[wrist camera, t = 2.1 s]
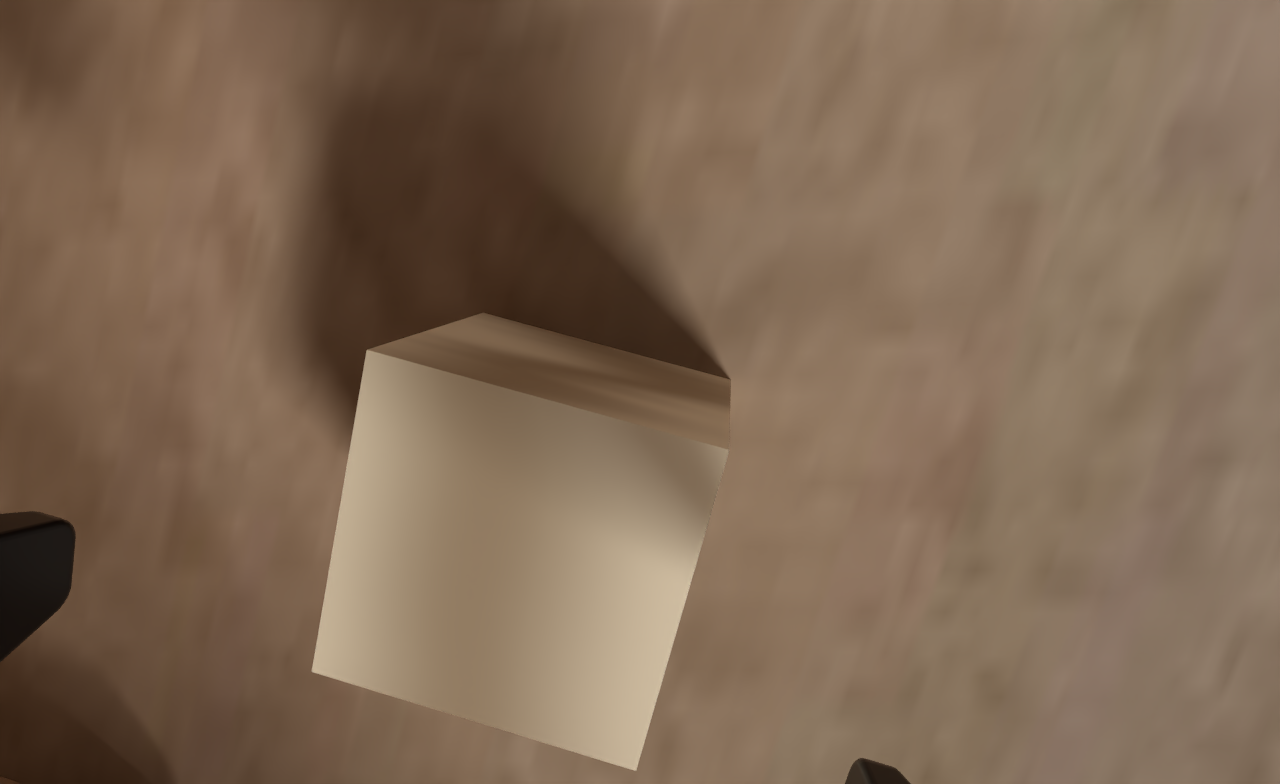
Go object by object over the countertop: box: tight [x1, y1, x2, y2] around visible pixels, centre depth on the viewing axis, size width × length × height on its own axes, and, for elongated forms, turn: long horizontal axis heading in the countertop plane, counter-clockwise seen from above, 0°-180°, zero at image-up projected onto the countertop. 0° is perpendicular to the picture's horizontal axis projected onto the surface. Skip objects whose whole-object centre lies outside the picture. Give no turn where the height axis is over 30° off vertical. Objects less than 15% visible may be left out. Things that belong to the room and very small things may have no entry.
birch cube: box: [312, 313, 731, 771], centre depth 13 cm, size 5×5×5 cm
